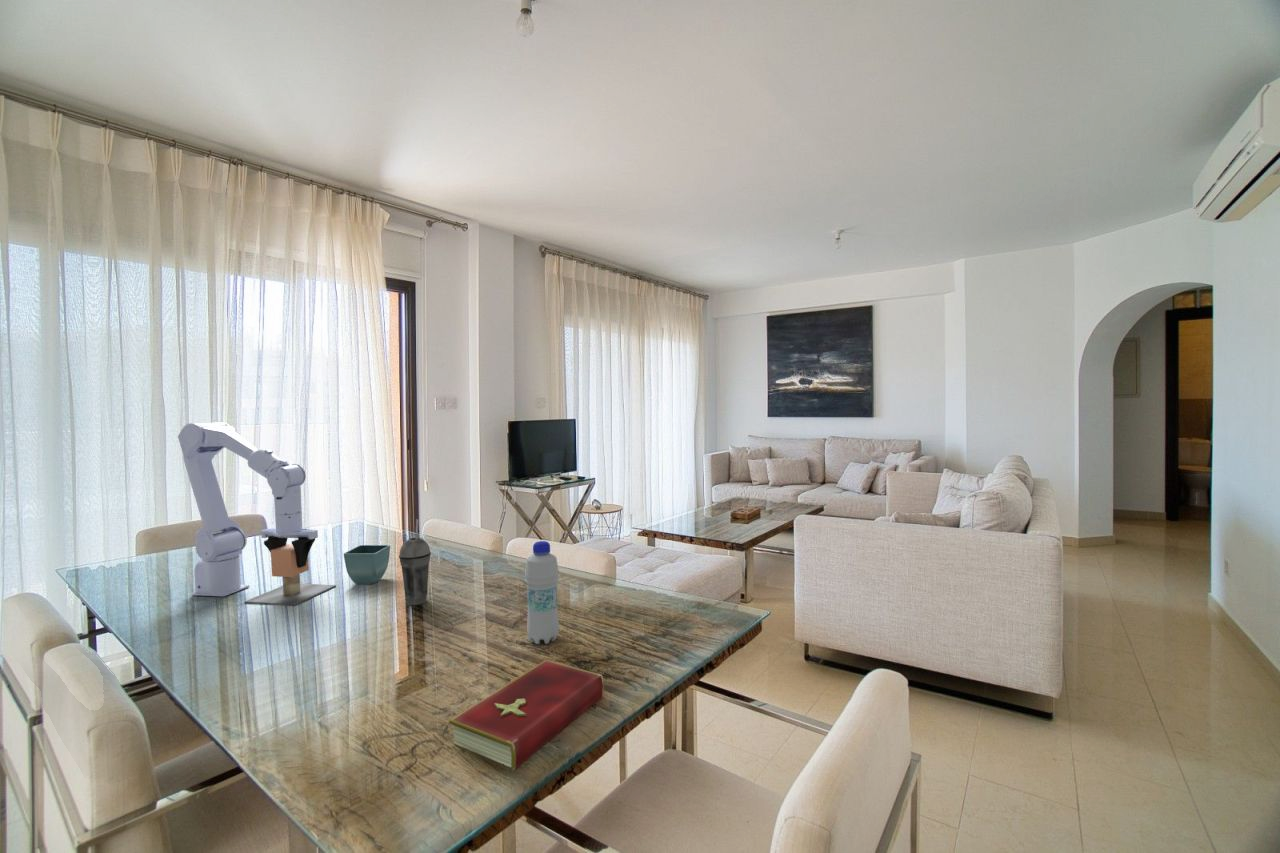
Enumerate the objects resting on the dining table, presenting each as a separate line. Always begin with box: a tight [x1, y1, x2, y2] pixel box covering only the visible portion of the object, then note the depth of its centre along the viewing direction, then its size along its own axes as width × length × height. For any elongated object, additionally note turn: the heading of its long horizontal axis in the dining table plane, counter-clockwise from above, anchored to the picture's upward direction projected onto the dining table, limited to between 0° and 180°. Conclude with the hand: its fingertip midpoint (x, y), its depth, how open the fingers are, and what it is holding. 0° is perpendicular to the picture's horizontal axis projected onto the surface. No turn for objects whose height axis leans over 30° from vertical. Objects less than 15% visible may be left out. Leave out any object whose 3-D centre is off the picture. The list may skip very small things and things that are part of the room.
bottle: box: [524, 540, 560, 645], centre depth 112 cm, size 7×7×20 cm
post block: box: [244, 573, 337, 607], centre depth 142 cm, size 14×14×5 cm
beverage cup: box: [398, 518, 432, 606], centre depth 135 cm, size 7×7×20 cm
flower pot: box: [343, 544, 391, 585], centre depth 152 cm, size 9×9×9 cm
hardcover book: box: [448, 659, 605, 771], centre depth 84 cm, size 12×21×4 cm, turn 150°
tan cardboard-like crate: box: [270, 543, 310, 578], centre depth 142 cm, size 6×6×7 cm
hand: (290, 566), depth 142 cm, fingers closed on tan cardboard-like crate, 6 cm apart
